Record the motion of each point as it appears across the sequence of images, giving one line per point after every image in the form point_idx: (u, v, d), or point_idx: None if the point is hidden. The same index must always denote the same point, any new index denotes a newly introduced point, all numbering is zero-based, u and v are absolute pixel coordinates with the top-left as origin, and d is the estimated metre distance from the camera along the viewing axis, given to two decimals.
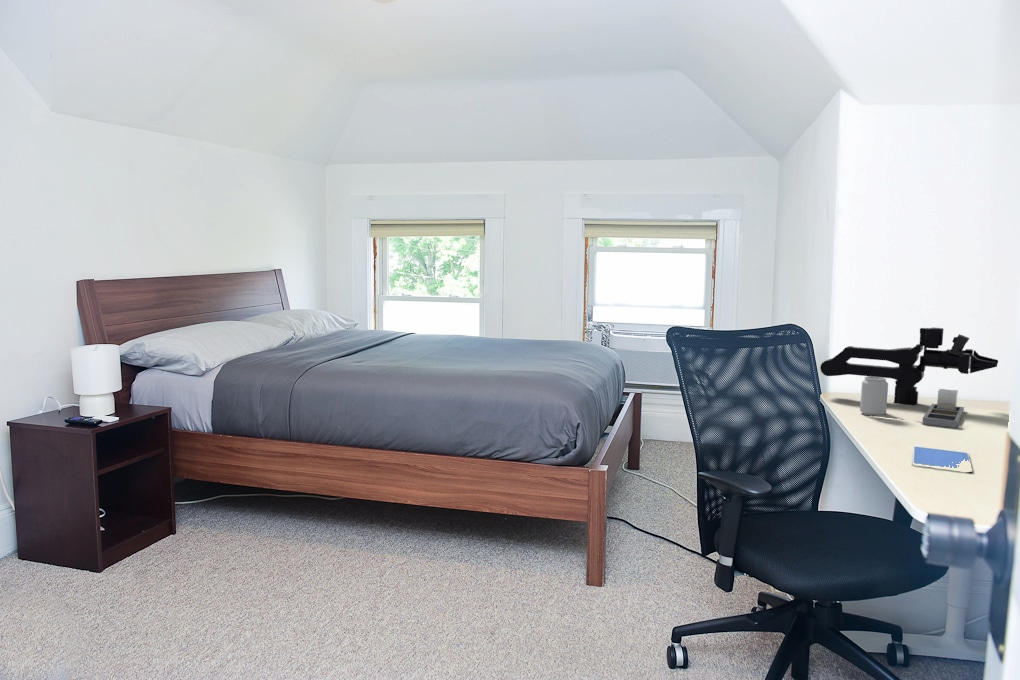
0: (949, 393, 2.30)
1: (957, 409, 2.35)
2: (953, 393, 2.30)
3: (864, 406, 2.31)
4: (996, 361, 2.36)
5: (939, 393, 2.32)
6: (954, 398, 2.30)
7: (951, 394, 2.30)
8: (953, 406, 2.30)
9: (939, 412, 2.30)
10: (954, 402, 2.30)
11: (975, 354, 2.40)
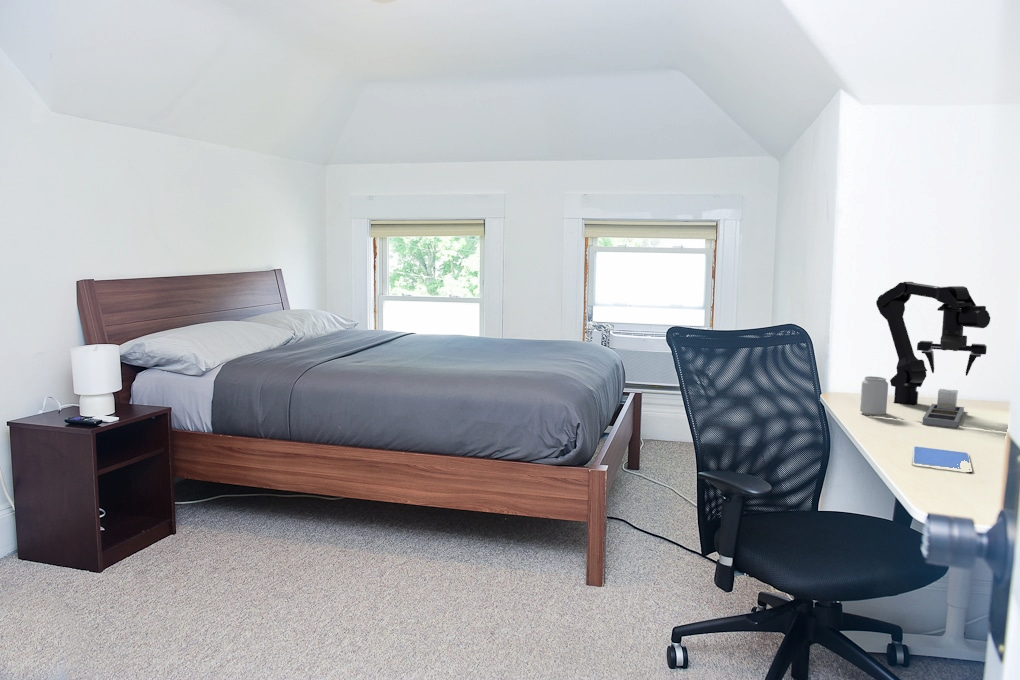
0: (949, 393, 2.30)
1: (957, 409, 2.35)
2: (953, 393, 2.30)
3: (864, 406, 2.31)
4: None
5: (939, 393, 2.32)
6: (954, 398, 2.30)
7: (951, 394, 2.30)
8: (953, 406, 2.30)
9: (939, 412, 2.30)
10: (954, 402, 2.30)
11: (969, 356, 2.27)
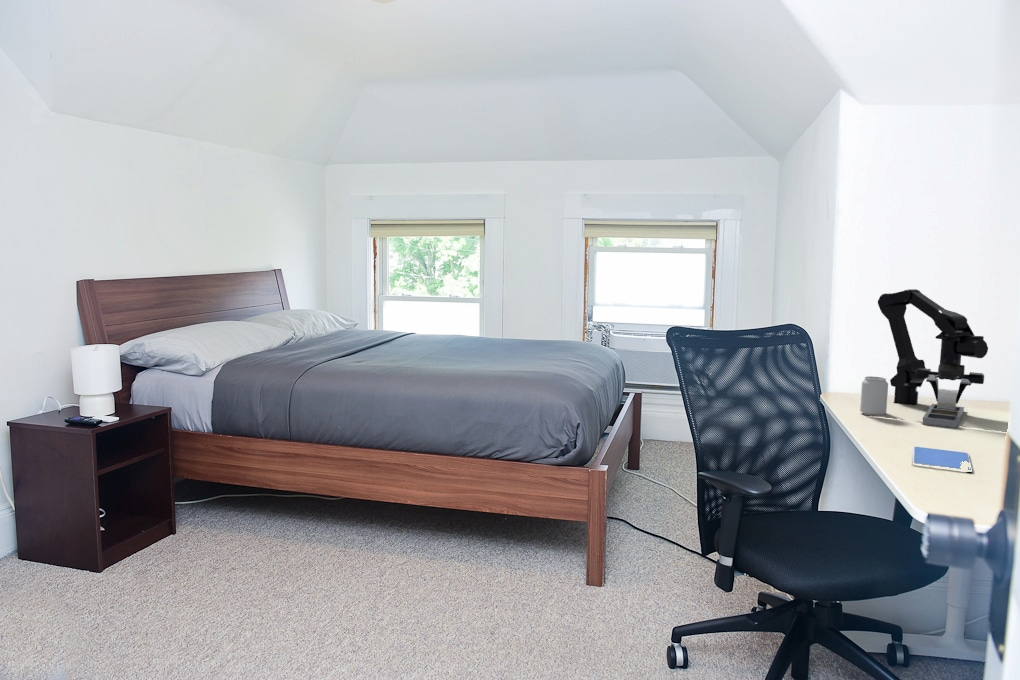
0: (949, 393, 2.30)
1: (957, 409, 2.35)
2: (953, 393, 2.30)
3: (864, 406, 2.31)
4: (956, 401, 2.32)
5: (939, 393, 2.32)
6: (954, 398, 2.30)
7: (951, 394, 2.30)
8: (953, 406, 2.30)
9: (939, 412, 2.30)
10: (954, 402, 2.30)
11: None
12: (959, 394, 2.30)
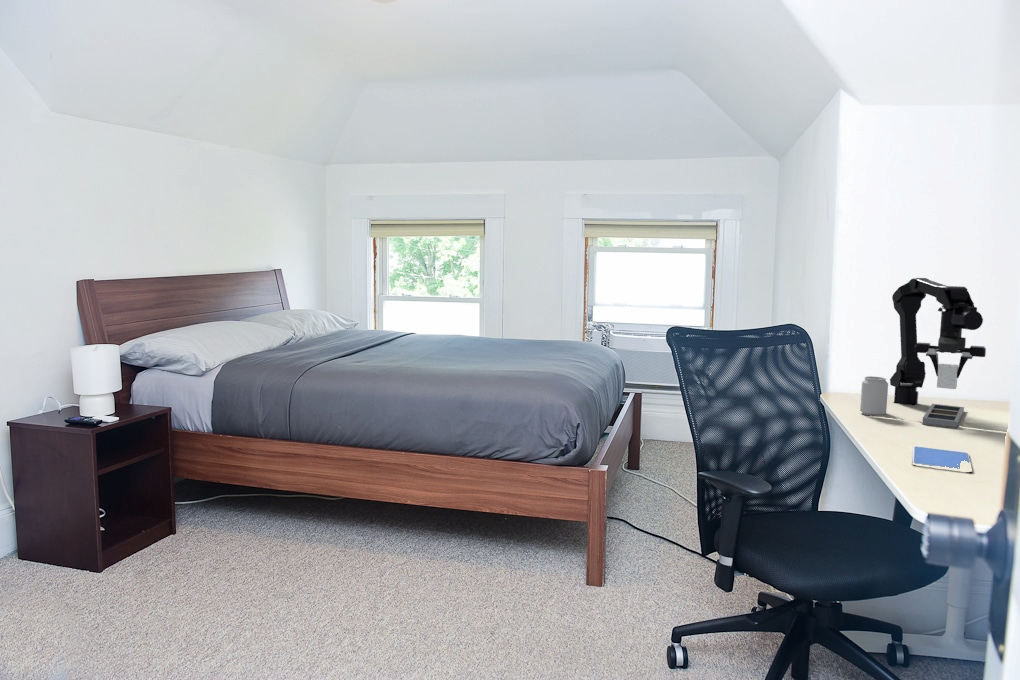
0: (950, 367, 2.23)
1: (957, 409, 2.35)
2: (954, 367, 2.22)
3: (864, 406, 2.31)
4: None
5: (939, 367, 2.24)
6: (955, 372, 2.22)
7: (952, 368, 2.22)
8: (954, 381, 2.22)
9: (939, 412, 2.30)
10: (955, 376, 2.22)
11: (960, 358, 2.21)
12: (960, 368, 2.22)
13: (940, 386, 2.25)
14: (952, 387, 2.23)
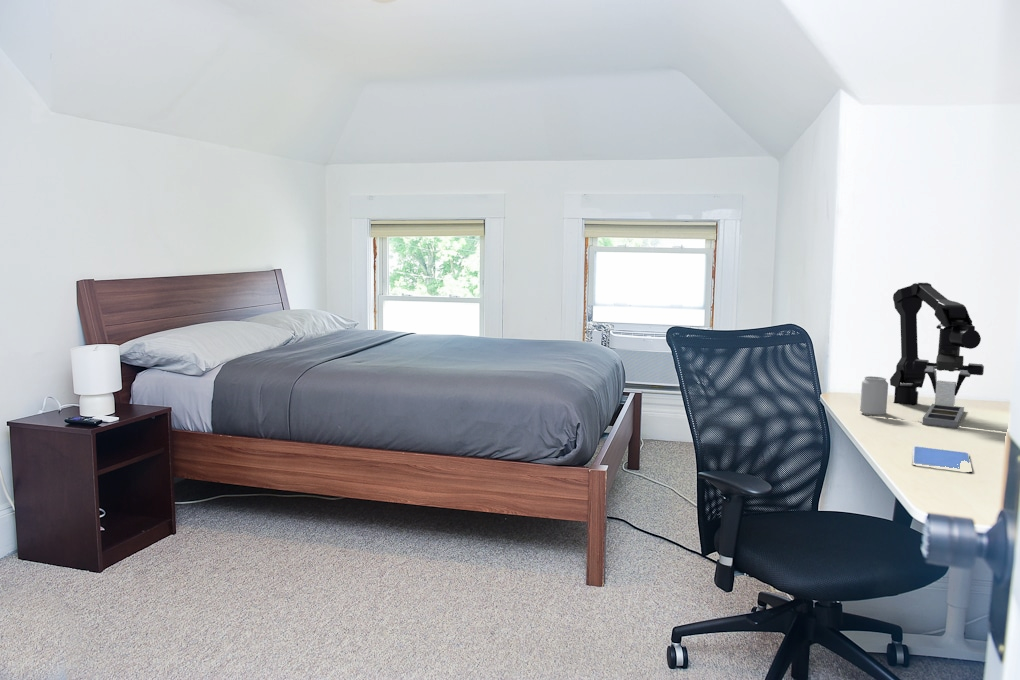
0: (947, 385, 2.23)
1: (957, 409, 2.35)
2: (952, 385, 2.23)
3: (864, 406, 2.31)
4: None
5: (937, 385, 2.25)
6: (953, 390, 2.23)
7: (949, 386, 2.23)
8: (952, 398, 2.23)
9: (939, 412, 2.30)
10: (953, 394, 2.23)
11: (958, 376, 2.22)
12: (958, 386, 2.23)
13: (938, 403, 2.25)
14: (950, 404, 2.23)
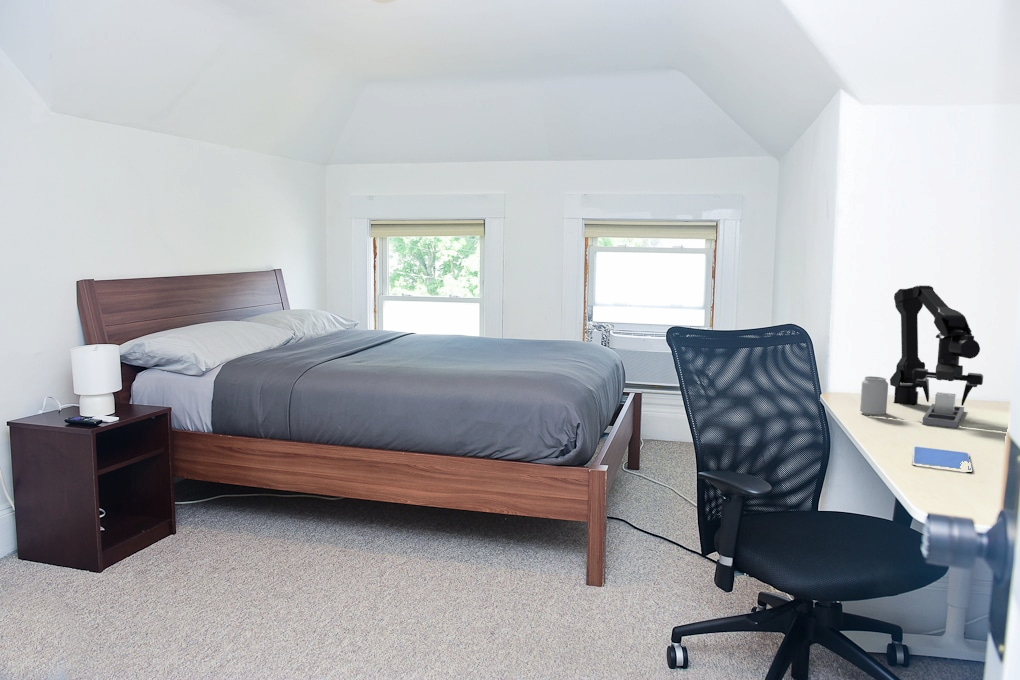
0: (947, 397, 2.24)
1: (957, 409, 2.35)
2: (951, 397, 2.23)
3: (864, 406, 2.31)
4: (961, 404, 2.24)
5: (936, 397, 2.25)
6: (952, 402, 2.23)
7: (949, 398, 2.23)
8: (951, 410, 2.23)
9: None
10: (952, 406, 2.23)
11: (965, 386, 2.21)
12: (965, 396, 2.22)
13: None
14: None
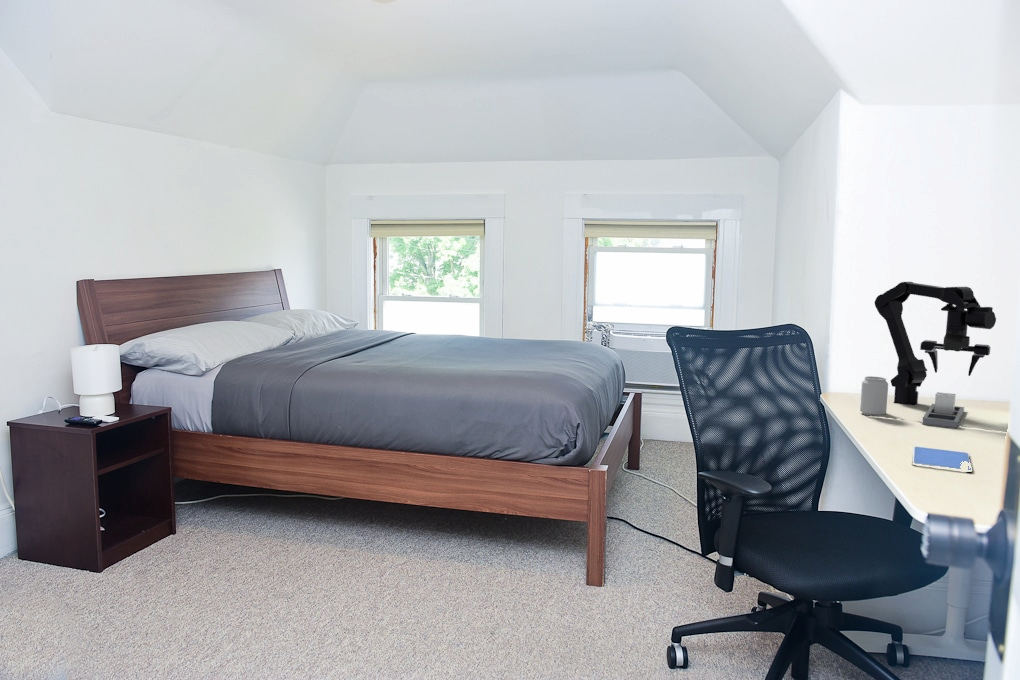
0: (947, 397, 2.24)
1: (957, 409, 2.35)
2: (951, 397, 2.23)
3: (864, 406, 2.31)
4: (968, 374, 2.31)
5: (936, 397, 2.25)
6: (952, 402, 2.23)
7: (949, 398, 2.23)
8: (951, 410, 2.23)
9: None
10: (952, 406, 2.23)
11: (972, 356, 2.28)
12: (971, 366, 2.29)
13: None
14: None
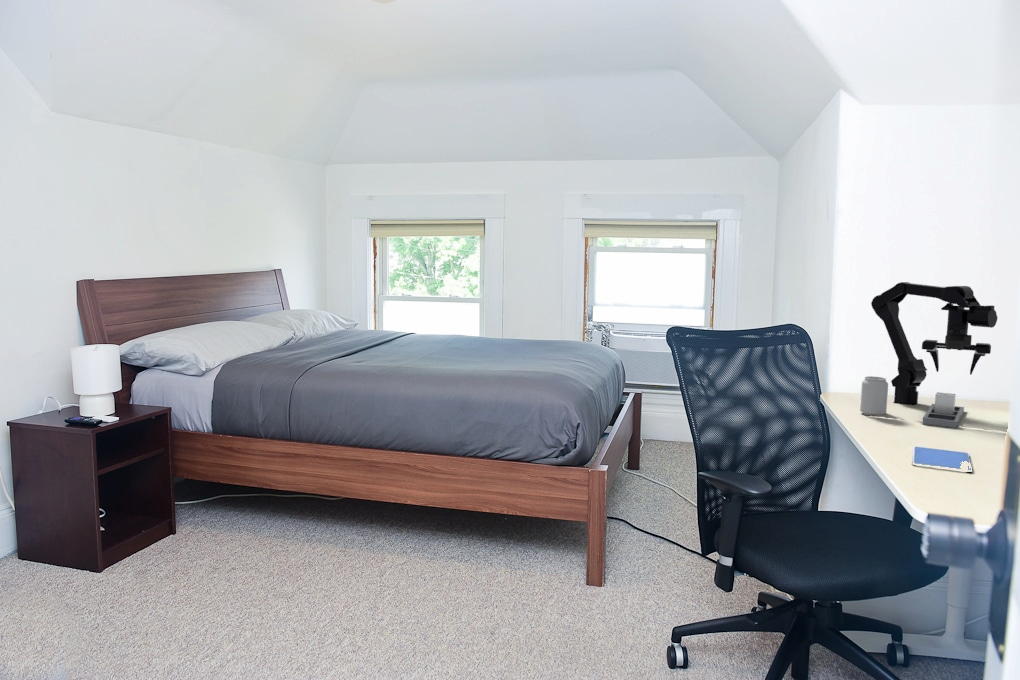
0: (947, 397, 2.24)
1: (957, 409, 2.35)
2: (951, 397, 2.23)
3: (864, 406, 2.31)
4: (970, 373, 2.32)
5: (936, 397, 2.25)
6: (952, 402, 2.23)
7: (949, 398, 2.23)
8: (951, 410, 2.23)
9: None
10: (952, 406, 2.23)
11: None
12: (973, 365, 2.30)
13: None
14: None
